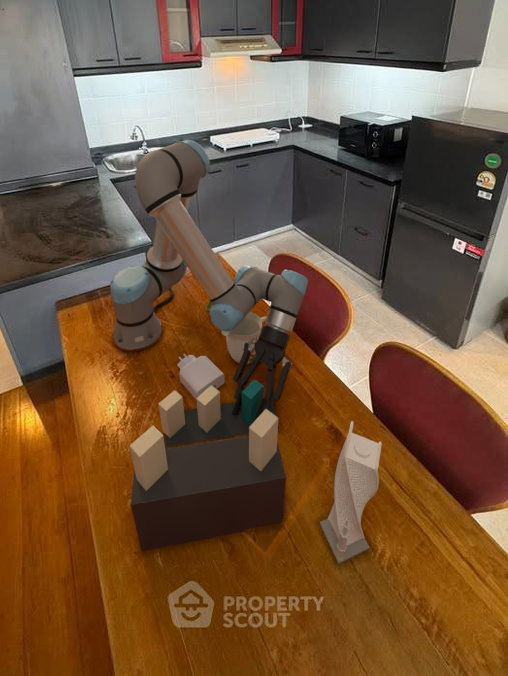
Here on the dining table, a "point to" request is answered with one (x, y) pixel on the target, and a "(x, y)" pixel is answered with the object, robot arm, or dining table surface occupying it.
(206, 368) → the charger
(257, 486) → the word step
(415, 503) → the dining table surface
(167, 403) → the dark grey block
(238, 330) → the pitcher
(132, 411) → the dining table surface
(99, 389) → the dining table surface
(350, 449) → the skyscraper
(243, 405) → the upright teal pillar
